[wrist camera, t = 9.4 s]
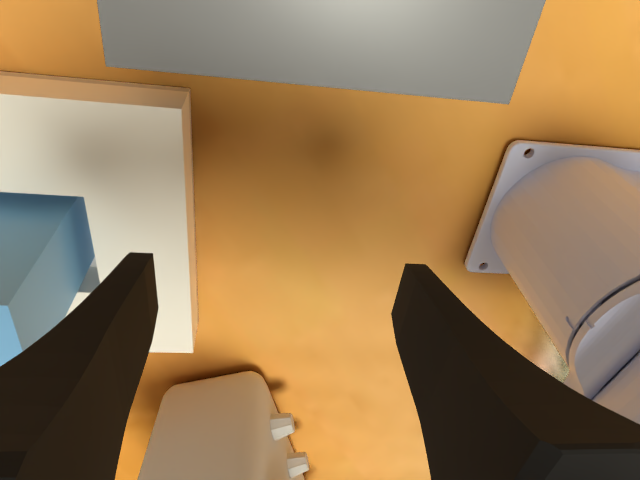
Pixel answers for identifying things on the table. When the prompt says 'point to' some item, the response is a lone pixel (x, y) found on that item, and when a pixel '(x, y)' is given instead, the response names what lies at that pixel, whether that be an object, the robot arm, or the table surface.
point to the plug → (39, 264)
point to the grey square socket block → (330, 42)
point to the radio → (222, 433)
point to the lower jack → (113, 178)
